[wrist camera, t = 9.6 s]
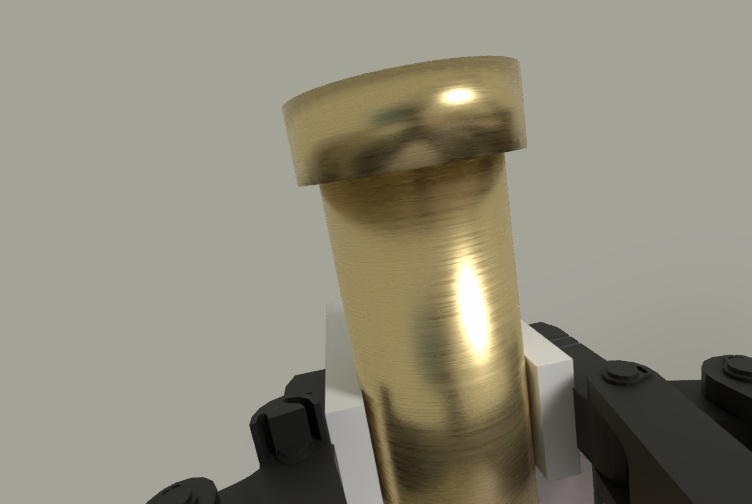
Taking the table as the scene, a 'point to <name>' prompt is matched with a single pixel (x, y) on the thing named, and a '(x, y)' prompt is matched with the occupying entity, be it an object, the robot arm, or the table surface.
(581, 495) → the table surface
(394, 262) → the brass pin
